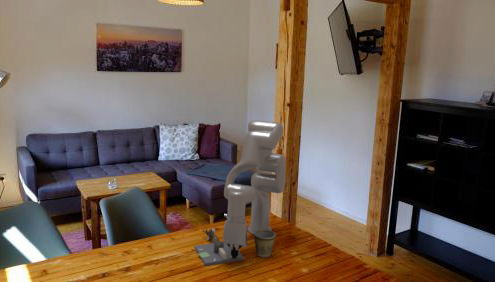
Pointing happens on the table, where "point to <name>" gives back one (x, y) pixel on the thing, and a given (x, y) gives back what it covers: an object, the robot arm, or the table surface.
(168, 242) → the table surface
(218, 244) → the peg
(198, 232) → the table surface
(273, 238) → the ceramic cup
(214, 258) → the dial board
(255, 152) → the robot arm
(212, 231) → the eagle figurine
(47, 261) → the table surface
